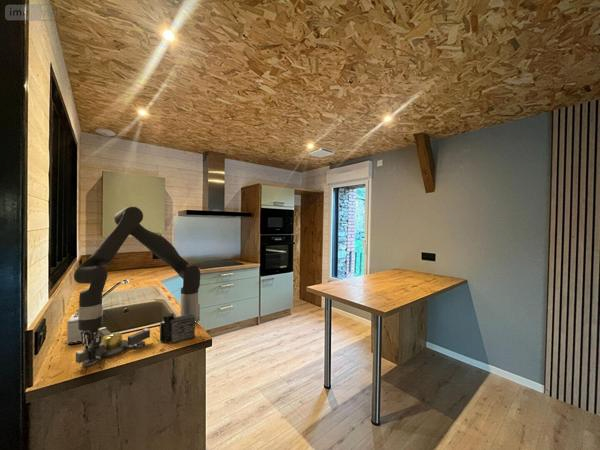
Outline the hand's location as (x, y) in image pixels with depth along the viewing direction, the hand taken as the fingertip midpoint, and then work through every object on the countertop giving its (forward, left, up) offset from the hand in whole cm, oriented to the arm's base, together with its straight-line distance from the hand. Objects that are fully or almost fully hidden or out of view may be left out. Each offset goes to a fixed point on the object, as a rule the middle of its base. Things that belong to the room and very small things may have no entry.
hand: (90, 358), depth 98 cm
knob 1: (0, 0, -1) cm, 1 cm away
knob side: (-11, -13, -1) cm, 17 cm away
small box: (-31, +14, -2) cm, 34 cm away
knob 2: (-17, +3, -1) cm, 17 cm away
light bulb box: (-8, -31, -2) cm, 33 cm away
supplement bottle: (-27, +9, -2) cm, 29 cm away
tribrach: (-9, -5, -2) cm, 10 cm away
